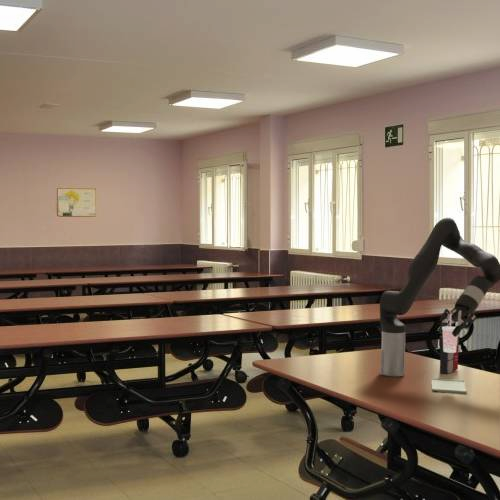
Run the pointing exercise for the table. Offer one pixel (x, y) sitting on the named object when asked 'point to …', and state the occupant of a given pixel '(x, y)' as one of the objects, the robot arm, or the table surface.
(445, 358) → the grey and red box
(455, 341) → the beverage cup
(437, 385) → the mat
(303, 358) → the table surface
